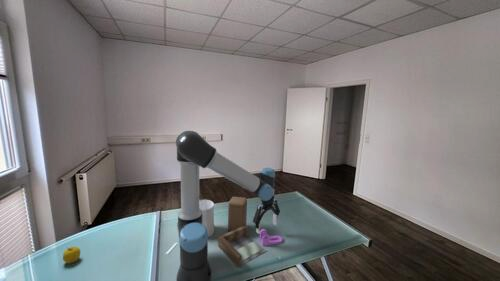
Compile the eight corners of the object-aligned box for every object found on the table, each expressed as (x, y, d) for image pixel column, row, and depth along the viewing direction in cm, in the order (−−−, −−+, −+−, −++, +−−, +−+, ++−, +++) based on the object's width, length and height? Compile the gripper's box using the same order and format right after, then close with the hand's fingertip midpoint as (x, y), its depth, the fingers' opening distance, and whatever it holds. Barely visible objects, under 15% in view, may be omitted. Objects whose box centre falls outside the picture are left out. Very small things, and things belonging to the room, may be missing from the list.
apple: (61, 263, 94) (59, 248, 92) (78, 255, 99) (77, 241, 98) (65, 269, 90) (63, 253, 89) (83, 260, 95) (81, 246, 94)
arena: (238, 268, 94) (238, 257, 93) (218, 246, 108) (218, 236, 107) (266, 251, 105) (266, 241, 105) (245, 234, 120) (245, 225, 119)
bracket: (262, 246, 110) (263, 235, 109) (259, 240, 115) (260, 229, 114) (283, 243, 113) (284, 232, 112) (279, 237, 118) (280, 226, 117)
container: (188, 228, 124) (187, 202, 122) (210, 223, 131) (210, 197, 128) (193, 242, 112) (192, 212, 109) (217, 235, 118) (217, 207, 116)
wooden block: (243, 235, 119) (243, 204, 116) (227, 232, 121) (227, 202, 118) (246, 225, 129) (247, 197, 126) (232, 223, 131) (232, 195, 128)
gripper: (255, 203, 101) (254, 240, 104) (286, 191, 117) (285, 223, 120) (246, 198, 107) (246, 233, 110) (277, 187, 122) (276, 218, 126)
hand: (266, 228), depth 115 cm, fingers open, 13 cm apart
